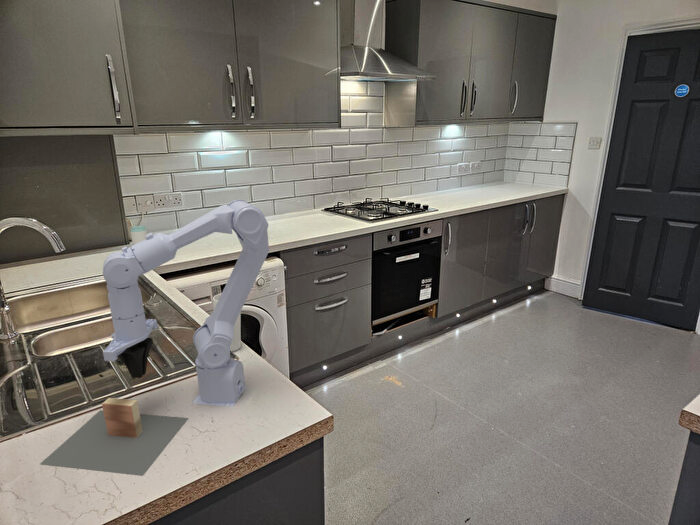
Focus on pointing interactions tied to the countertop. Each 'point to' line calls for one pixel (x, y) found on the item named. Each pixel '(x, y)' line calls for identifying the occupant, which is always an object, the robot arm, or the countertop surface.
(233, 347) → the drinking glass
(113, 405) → the tile
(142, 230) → the can
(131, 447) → the mat
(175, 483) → the countertop surface
